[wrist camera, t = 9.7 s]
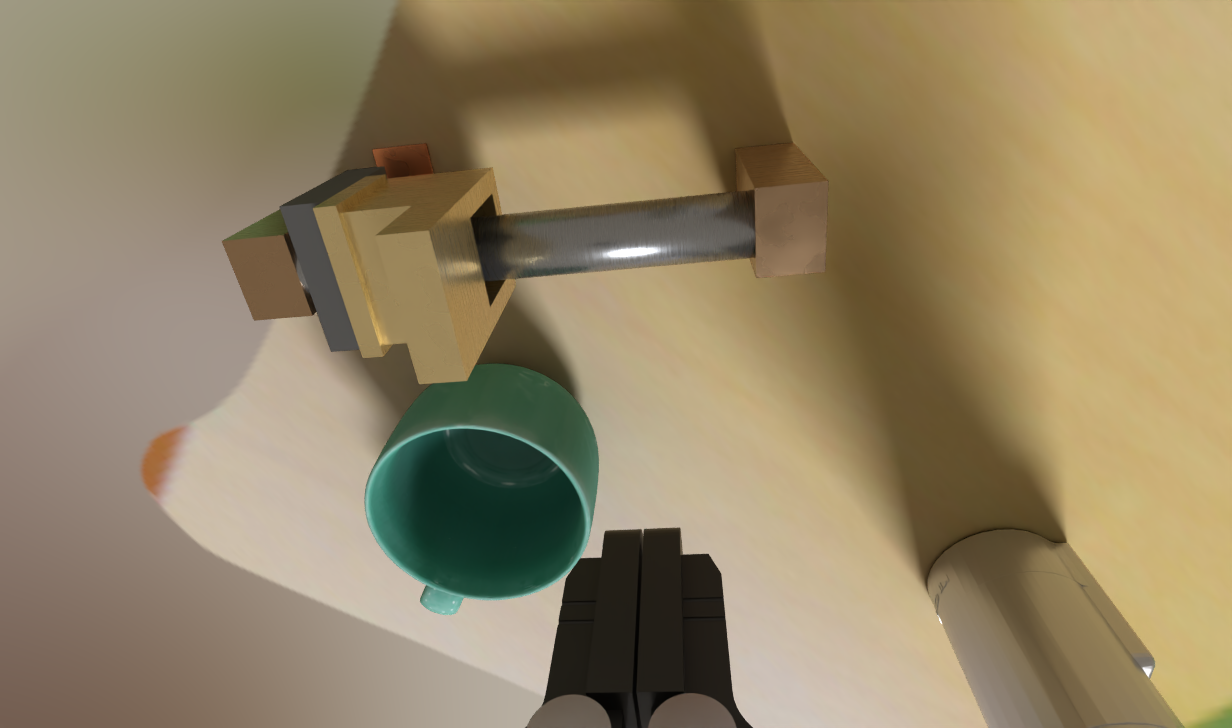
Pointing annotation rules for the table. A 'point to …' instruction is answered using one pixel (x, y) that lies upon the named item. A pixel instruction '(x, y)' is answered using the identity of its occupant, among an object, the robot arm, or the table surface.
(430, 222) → the tan notched block
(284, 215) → the dark grey square plate
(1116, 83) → the table surface
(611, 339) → the table surface
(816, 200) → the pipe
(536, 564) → the mug
